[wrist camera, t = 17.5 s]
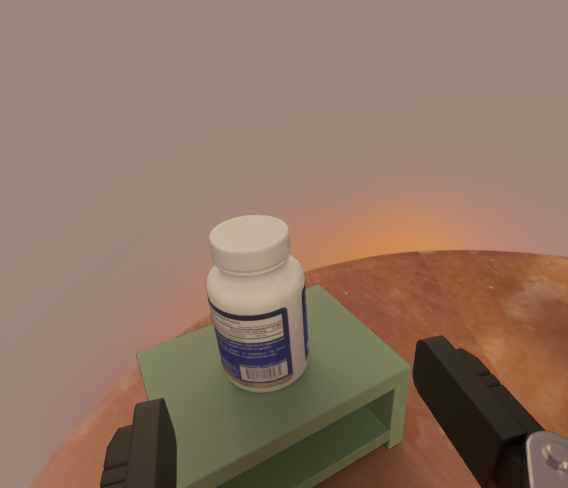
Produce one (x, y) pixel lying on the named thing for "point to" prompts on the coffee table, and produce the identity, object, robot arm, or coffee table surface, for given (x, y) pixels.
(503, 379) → the coffee table surface
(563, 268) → the coffee table surface
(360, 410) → the stand
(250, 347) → the pill bottle
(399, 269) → the coffee table surface
